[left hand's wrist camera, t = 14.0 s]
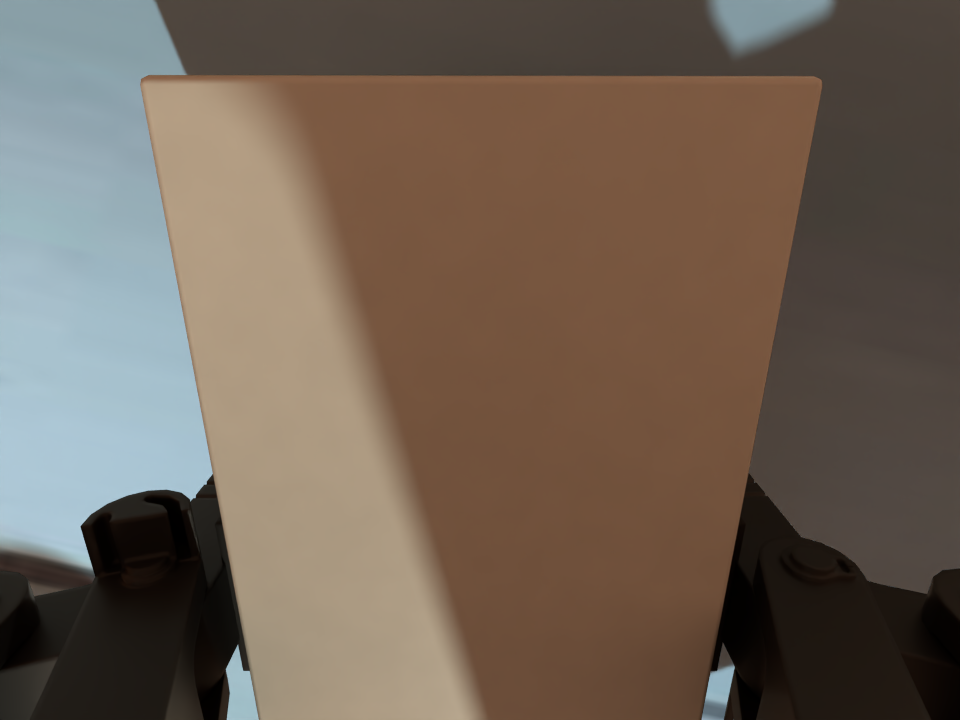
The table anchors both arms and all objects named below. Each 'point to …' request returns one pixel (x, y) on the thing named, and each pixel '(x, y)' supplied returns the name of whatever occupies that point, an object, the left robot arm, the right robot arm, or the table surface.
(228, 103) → the post
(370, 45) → the table surface
